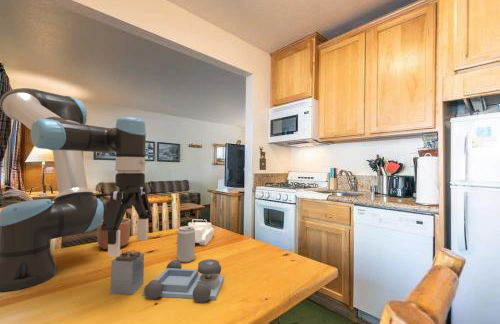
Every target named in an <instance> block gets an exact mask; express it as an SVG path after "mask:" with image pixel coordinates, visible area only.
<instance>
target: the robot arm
mask: <svg viewBox="0 0 500 324" xmlns="http://www.w3.org/2000/svg"><path fill="white" fill-rule="evenodd" d="M0 108H1V111H2V113H4V115H6V116H7V117H8V118H10V119H11V120H13V121H16V122H20V123H22V125H24V126H25V127H26V128H28V129H29V130H30V140H31V143H32V145H33V146H34V147H35V148H37V149H42V150H49V151H52V155H53V162H54V169H55V170H54V171H55V176H56V178H55V179H56V184H57V193H58V194H57V195H56V196H55V197H54V198H53V201H52V200H51V199H50V198H40V199H32V200H26V201H19V202H15V203H12V204H9V205H6V206H4V207H3V208H1V210H0V292H8V291H15V290H22V289H26V288H28V287H33V286H35V285H38V284H41V283H43V282H46V281H48V280H49V279H52V278H54V277H55V275H56V274H57V271H58V268H57V267H58V266H57V262H55V258H54V255H53V253H52V251H51V241H52V240H53V239H58V238H62V237H63V238H64V237H67V236H71V235H78V234H84V233H87V232H90V231H94V230H96V229H97V227H98V226H99V225H100V223H101V221H102V220H103V223H102V226H101V230H103V231H107V232H108V250H107V257H108V258H109V257H111V258H116V257H119V256H120V254H121V248H120V230H118V228H119V226H120V224H121V222H122V219H123V218H125V215H126V213H127V210H128V209H130V208H131V207H132V206H133V209H134V210H135V212H136V213H137V215H138V217H139V218H138V219H137V239H136V240H137V241H144V242H145V241H147V240H148V219H151V217H152V209H151V206H150V201H149V197H148V193H147V191H148V190H147V187H143V186H145V185H146V176H145V175H146V174H145V173H144V171H146V162H147V161H146V141H147V140H146V137H147V136H146V135H147V133H146V123H145V120H143V119H141V118H137V117H129V116H128V117H127V116H123V117H122V116H121V117H119V118H117V119H116V123H115V127H104V126H96V125H89V124H86V123H87V120H88V119H87V117H88V113H87V112H88V111H87V108H86V106H85V104H84V103H83V102H82V101H81V99H78V98H75V97H72V96H70V95H69V96H68V95H62V94H57V93H53V92H48V91H44V90H39V89H36V88H30V87H29V88H28V87H20V88H15V89H11V90H9V91H6V92H5V93H4V94H2V96H1V98H0ZM83 152H90V153H101V154H114V153H115V171H116V172H117V173H116V174H115V187H118V188H119V190H118V191H116V190H111V191H110V195H109V197H110V198H109V202H108V205H107V208H106V212H105V215H104V211H105V207H104V203H103V201H102V200H101V198H99V197H95V193H94V191H92V190H90V189H89V187H88V183H87V181H88V180H87V176H86V170H85V165H84V159H83V158H84V157H83ZM107 224H108V225H107ZM114 225H115V226H114Z"/></svg>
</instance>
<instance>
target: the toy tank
mask: <svg viewBox="0 0 500 324" xmlns="http://www.w3.org/2000/svg"><path fill="white" fill-rule="evenodd" d="M194 221H195V222H194ZM212 224H213V223H211V222H208V221H207V219H205V222H204V221H203V222H202V219H196V218H192V219H191V222H188V223H187V226H192V227H194V230H195V244H199V246H206V245H207V244H208V243H210V241H211V240H212V239H213V236H214V232H215V228H214V227H213V226H212Z"/></svg>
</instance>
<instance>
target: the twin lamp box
mask: <svg viewBox="0 0 500 324" xmlns="http://www.w3.org/2000/svg"><path fill="white" fill-rule="evenodd" d="M110 264H111V267H110V268H111V269H110V295H121V296H122V295H123V296H124V295H125V296H132V295H134V294H135V293H136V292H137V291H138V290H140V288H141V287H142V286H144V280H145V279H144V277H145V276H144V274H145V273H144V271H145V270H144V269H145V268H144V266H145V253H141V251H136V250H135V249H132V250H131V249H130V250H128V249H122V250H121V253H120V256H119V257H114V259H112V260H111V262H110Z"/></svg>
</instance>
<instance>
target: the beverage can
mask: <svg viewBox="0 0 500 324" xmlns="http://www.w3.org/2000/svg"><path fill="white" fill-rule="evenodd" d="M176 232H177V234H176V235H177V237H176V260H177V261H179V262H180V263H190V262H193V260H194V259H195V258H196V257H195V255H196V254H195V253H196V252H195V249H196V247H195V246H196V243H195V230H194V227H192V226H188V225H183V226H179V227H178V230H177V231H176Z"/></svg>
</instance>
